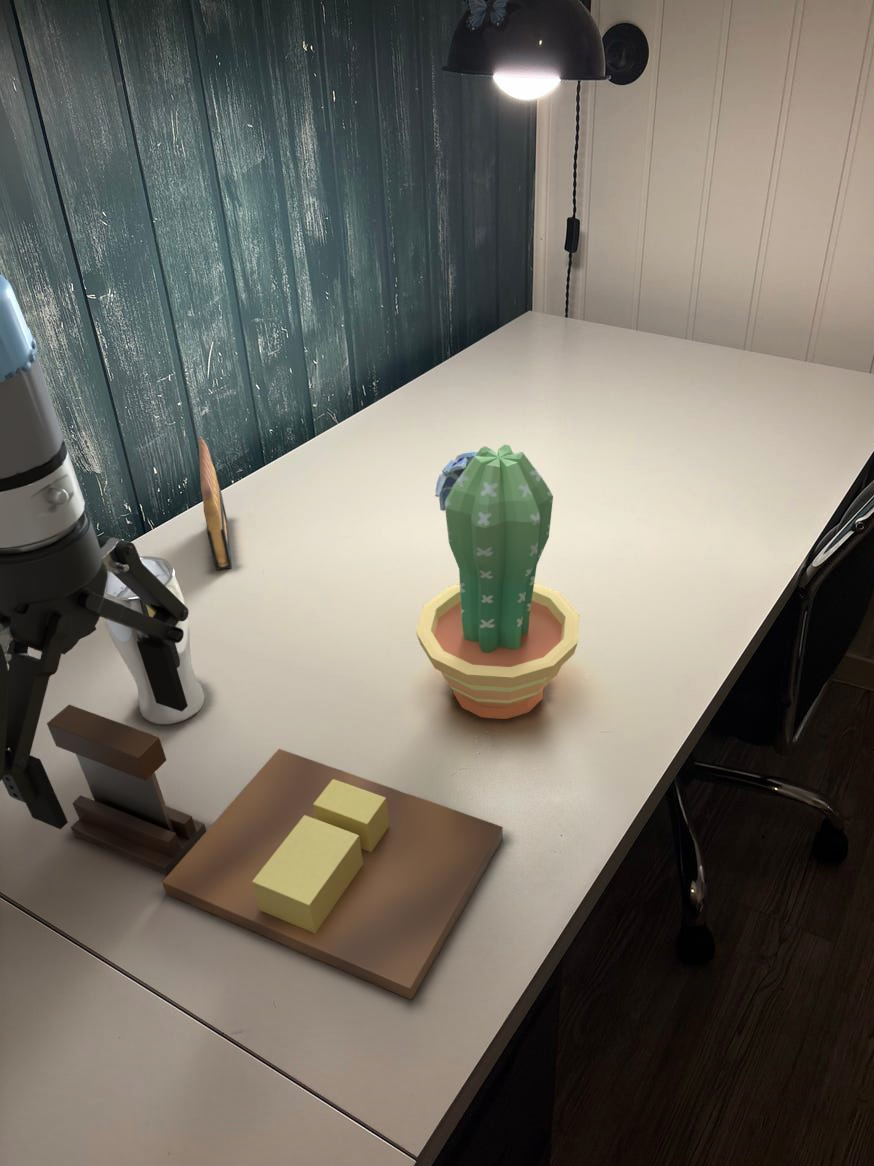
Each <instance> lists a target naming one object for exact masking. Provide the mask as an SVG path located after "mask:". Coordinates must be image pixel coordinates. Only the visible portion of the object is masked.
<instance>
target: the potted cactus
mask: <svg viewBox="0 0 874 1166" xmlns="http://www.w3.org/2000/svg"><path fill="white" fill-rule="evenodd" d="M441 472H442V473H440V474H439V476H438V478H437V481H436V485H435V495H434V497H436V498H439V499H438V500H439V509H440V511H442V512H445V520H446V529H447V539H448V544H449V547H450V550H451V552H452V554H453V558H454V559H455V562H456V564H457V567H458V576H459V583H458V584H454V585H450V586H448V587H446V588H445V589H443V591H441V592H440V593H439V594H437V595H436V596H435V597H433V598H431V600H430V601H428V602H426V603H425V604H424V605H422V609H421V612H420V615H419V619H418V623H417V626H416V630H415V634H416V636H417V639H418V643H419V645H420V646H421V648H422V649H423V651H424V654H426V656H427V658H428V659H429V661H430V663H431V664H432V666H433V668H434V669H435V670H436V671H439V672H440V673H441V675H442V677H443V678H444V679H445V681H446V683H447V684H448V686H449V687H450V688H451V689H452V694H453V696H454V697H455V698H456V700H457V702H458V703H459V705H460V706H461V708H462V709H464V710H466V711H469V712H470V713H472V714H474V715H476V716H478V717H480V718H483V719H484V718H485V719H498V720H499V719H500V720H508V719H511V718H514V717H518V716H521V715H525V714H528V713H530V711H531V710H533V708H535V707H536V706H537V705H538V704H539V703H540V702H541V701H542V700H543V699H544V698H543V697H544V688H545V687H546V686H547V685H549V684H550V682H552V681H553V680H554V678H556V677H557V675H558V673H559V671H560V670H561V667H562V666H564V664H565V663H566V662H568V660H569V659H570V658H571V657H572V656H574V654H575V652H576V649H577V646H578V643H579V634H580V633H579V632H580V619H581V617H580V614H579V613H578V611H576V610H575V608H574V607H573V606H572V605H571V604H570V602H569V601H568V600H567V599H566V598H565V596H564V595H563V594H562V593H561V592H559V591H556V590H554V589H551V588H549V587H546V586H544V585H541V584H540V583H537V582H535V580H536V574H537V567H538V563H539V561H540V560H541V559H540V558H541V556H542V554H543V552H544V549H545V547H546V544H547V542H548V540H549V538H550V531H551V521H552V520H551V519H552V511H553V501H554V495H553V493H552V490H551V489H550V487H549V486H548V484H547V483H546V481H545V479H544V478H543V476H542V475H541V473H540V472H539V471H538V469H536V467H535V466H534V465H533V464H532V462H531V461H530V460H529V458H528V457H527V456H526V454H525V453H524V452H523V451H520V452H516V453H514V452H513V450H512V447H511V445H509V444H503V445H501V446H500V447H499V448H498V449H497V453H496V451H494V450H493V449H492V448H490V447H488V446H486V445H484V446H482V447H480V449H479V450H478V451H477V452H476V451H473V450H469V451H465V452H464V453H461V454H458V455H456V457H455V459H451V460H450V461H449V462H448V463H447V464H446V465H445V467H444V468H443V469H442V470H441Z"/></svg>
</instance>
